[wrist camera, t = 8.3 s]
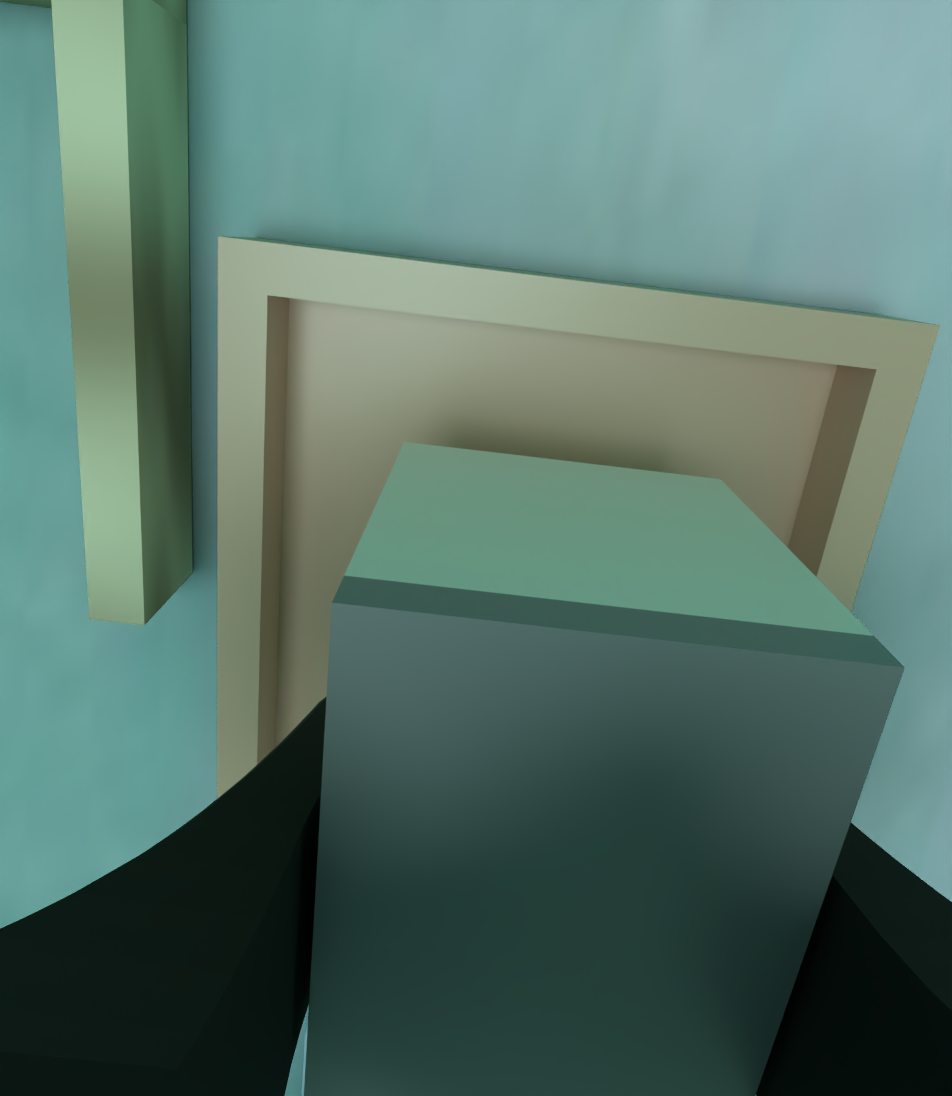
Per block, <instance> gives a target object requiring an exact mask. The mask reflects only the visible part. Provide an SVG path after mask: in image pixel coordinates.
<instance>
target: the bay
mask: <svg viewBox="0 0 952 1096" xmlns="http://www.w3.org/2000/svg"><path fill="white" fill-rule="evenodd" d="M0 1H2V2H10V3H18V4H26V5H33V6H41V7H49V8H52V19H53V35H54V52H55V68H56V84H57V101H58V117H59V133H60V149H61V166H62V182H63V198H64V214H65V231H66V247H67V263H68V279H69V296H70V312H71V328H72V344H73V361H74V377H75V393H76V409H77V426H78V442H79V458H80V474H81V491H82V507H83V523H84V539H85V556H86V572H87V588H88V604H89V619H91V620H100V621H109V622H118V623H127V624H136V625H145V624H146V623H147V622H148V621H149V620H150V619H151V618H152V617H153V616H154V615H155V613H156V612H157V611H158V610H159V609H160V608H161V607H162V606H163V605H164V604H165V603H166V601H167V600H168V599H169V598H170V597H171V596H172V595H173V594H174V593H175V592H176V591H177V590H178V588H179V587H180V586H181V585H182V584H183V583H184V582H185V581H186V580H187V579H188V578H189V576H190V575H191V574H192V573H193V565H192V471H191V377H190V283H189V188H188V94H187V0H0Z"/></svg>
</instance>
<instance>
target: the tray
mask: <svg viewBox="0 0 952 1096" xmlns="http://www.w3.org/2000/svg"><path fill="white" fill-rule="evenodd" d="M939 327H940V325H935V324H930V323H924V322H918V321H913V320H907V319H901V318H896V317H890V316H884V315H877V314H869V313H861V312H853V311H845V310H837V309H829V308H821V307H813V306H805V305H796V304H788V303H780V302H772V301H764V300H756V299H748V298H740V297H732V296H724V295H715V294H707V293H699V292H691V291H683V290H675V289H667V288H659V287H651V286H642V285H634V284H626V283H618V282H610V281H602V280H594V279H586V278H578V277H570V276H561V275H553V274H545V273H537V272H529V271H521V270H513V269H505V268H497V267H489V266H480V265H472V264H464V263H456V262H448V261H440V260H432V259H424V258H416V257H407V256H399V255H391V254H383V253H375V252H367V251H359V250H351V249H343V248H335V247H326V246H318V245H310V244H302V243H294V242H286V241H278V240H270V239H262V238H250V237H224V236H218V535H217V799H218V798H219V797H220V796H221V795H222V794H224V793H225V792H226V791H227V790H229V789H230V788H231V787H232V786H233V785H235V784H236V783H237V782H238V781H239V780H241V779H242V778H243V777H244V776H245V775H246V774H247V773H249V772H250V771H251V770H252V769H253V768H254V767H255V766H256V765H257V764H258V763H259V762H260V761H261V760H263V759H264V758H265V757H266V756H267V755H268V754H269V753H270V752H271V751H272V750H273V749H274V748H275V747H276V746H278V745H279V744H280V743H281V742H282V741H283V740H284V739H285V738H286V737H287V736H288V735H289V734H290V732H291V731H292V730H293V729H294V728H295V727H296V726H297V725H298V724H299V723H300V722H301V721H302V720H303V719H304V718H305V717H306V716H307V715H308V714H309V713H310V711H311V710H312V709H313V708H314V707H315V706H316V705H317V704H318V703H319V702H320V701H321V700H322V699H324V698H325V697H327V679H328V662H329V644H330V627H331V609H332V601H333V599H334V597H335V595H336V592H337V590H338V588H339V586H340V583H341V581H342V579H343V577H344V575H345V572H346V570H347V568H348V566H349V563H350V561H351V559H352V557H353V554H354V552H355V550H356V548H357V546H358V543H359V541H360V539H361V537H362V534H363V532H364V530H365V528H366V526H367V523H368V521H369V519H370V517H371V514H372V512H373V510H374V508H375V506H376V503H377V501H378V499H379V497H380V494H381V492H382V490H383V488H384V486H385V483H386V481H387V479H388V477H389V474H390V472H391V470H392V468H393V465H394V463H395V461H396V459H397V457H398V454H399V452H400V450H401V448H402V445H403V443H404V442H411V443H420V444H428V445H436V446H445V447H453V448H462V449H470V450H479V451H487V452H496V453H504V454H513V455H521V456H530V457H538V458H547V459H555V460H563V461H572V462H580V463H589V464H597V465H606V466H614V467H623V468H631V469H640V470H648V471H657V472H665V473H674V474H682V475H690V476H699V477H707V478H716V479H721V480H722V481H723V482H724V483H725V484H726V485H727V486H728V487H729V488H730V489H731V490H732V491H733V492H734V493H735V494H736V495H737V496H738V497H739V498H740V499H741V500H742V501H743V503H744V504H745V505H746V506H747V507H748V508H749V509H750V510H751V511H752V512H753V513H754V514H755V515H756V516H757V517H758V518H759V519H760V520H761V521H762V522H763V523H764V524H765V525H766V526H767V527H768V528H769V529H770V530H771V531H772V532H773V533H774V534H775V535H776V536H777V537H778V538H779V539H780V540H781V541H782V542H783V543H784V545H785V546H786V547H787V548H788V549H789V550H790V551H791V552H792V553H793V554H794V555H795V556H796V557H797V558H798V559H799V560H800V561H801V562H802V563H803V564H804V565H805V566H806V567H807V568H808V569H809V570H810V571H811V572H812V573H813V574H814V575H815V576H816V577H817V578H818V579H819V580H820V581H821V582H822V583H823V584H824V586H825V587H826V588H827V589H828V590H829V591H830V592H831V593H832V594H833V595H834V596H835V597H836V598H837V599H838V600H839V601H840V602H841V603H842V604H843V605H844V606H845V607H846V608H847V609H848V610H849V611H850V612H851V610H852V607H853V603H854V600H855V597H856V594H857V590H858V587H859V584H860V581H861V578H862V574H863V571H864V568H865V565H866V562H867V558H868V555H869V552H870V549H871V545H872V542H873V539H874V536H875V533H876V529H877V526H878V523H879V520H880V517H881V513H882V510H883V507H884V504H885V501H886V497H887V494H888V491H889V488H890V484H891V481H892V478H893V475H894V472H895V468H896V465H897V462H898V459H899V456H900V452H901V449H902V446H903V443H904V439H905V436H906V433H907V430H908V427H909V423H910V420H911V417H912V414H913V411H914V407H915V404H916V401H917V398H918V394H919V391H920V388H921V385H922V382H923V378H924V375H925V372H926V369H927V366H928V362H929V359H930V356H931V353H932V350H933V346H934V343H935V340H936V337H937V333H938V330H939Z"/></svg>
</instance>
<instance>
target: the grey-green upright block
mask: <svg viewBox="0 0 952 1096" xmlns="http://www.w3.org/2000/svg"><path fill="white" fill-rule="evenodd" d="M903 670H904V666H903V665H902V664H901V663H900V662H899V661H898V660H897V659H896V658H895V657H894V656H893V655H892V654H891V653H890V652H889V651H888V650H887V649H886V648H885V647H884V646H883V645H882V644H881V643H880V642H879V641H878V640H877V639H876V638H875V637H874V636H873V635H872V634H871V633H870V632H869V631H868V630H867V629H866V628H865V627H864V625H863V624H862V623H861V622H860V621H859V620H858V619H857V618H856V617H855V616H854V615H853V614H852V613H851V612H850V611H849V610H848V609H847V608H846V607H845V606H844V605H843V604H842V603H841V602H840V601H839V600H838V599H837V598H836V597H835V596H834V595H833V594H832V593H831V592H830V591H829V590H828V589H827V588H826V587H825V586H824V584H823V583H822V582H821V581H820V580H819V579H818V578H817V577H816V576H815V575H814V574H813V573H812V572H811V571H810V570H809V569H808V568H807V567H806V566H805V565H804V564H803V563H802V562H801V561H800V560H799V559H798V558H797V557H796V556H795V555H794V554H793V553H792V552H791V551H790V550H789V549H788V548H787V547H786V546H785V545H784V543H783V542H782V541H781V540H780V539H779V538H778V537H777V536H776V535H775V534H774V533H773V532H772V531H771V530H770V529H769V528H768V527H767V526H766V525H765V524H764V523H763V522H762V521H761V520H760V519H759V518H758V517H757V516H756V515H755V514H754V513H753V512H752V511H751V510H750V509H749V508H748V507H747V506H746V505H745V504H744V503H743V501H742V500H741V499H740V498H739V497H738V496H737V495H736V494H735V493H734V492H733V491H732V490H731V489H730V488H729V487H728V486H727V485H726V484H725V483H724V482H723V481H722V480H721V479H716V478H707V477H699V476H690V475H682V474H674V473H665V472H657V471H648V470H640V469H631V468H623V467H614V466H606V465H597V464H589V463H580V462H572V461H563V460H555V459H547V458H538V457H530V456H521V455H513V454H504V453H496V452H487V451H479V450H470V449H462V448H453V447H445V446H436V445H428V444H420V443H411V442H404V443H403V445H402V448H401V450H400V452H399V454H398V457H397V459H396V461H395V463H394V465H393V468H392V470H391V472H390V474H389V477H388V479H387V481H386V483H385V486H384V488H383V490H382V492H381V494H380V497H379V499H378V501H377V503H376V506H375V508H374V510H373V512H372V514H371V517H370V519H369V521H368V523H367V526H366V528H365V530H364V532H363V534H362V537H361V539H360V541H359V543H358V546H357V548H356V550H355V552H354V554H353V557H352V559H351V561H350V563H349V566H348V568H347V570H346V572H345V575H344V577H343V579H342V581H341V583H340V586H339V588H338V590H337V592H336V595H335V597H334V599H333V601H332V609H331V627H330V644H329V662H328V679H327V697H326V715H325V732H324V750H323V767H322V785H321V803H320V820H319V838H318V855H317V873H316V891H315V908H314V926H313V943H312V961H311V979H310V996H309V1014H308V1031H307V1049H306V1067H305V1084H304V1096H755V1095H756V1092H757V1089H758V1087H759V1084H760V1081H761V1078H762V1075H763V1072H764V1069H765V1067H766V1064H767V1061H768V1058H769V1055H770V1052H771V1049H772V1046H773V1044H774V1041H775V1038H776V1035H777V1032H778V1029H779V1026H780V1023H781V1021H782V1018H783V1015H784V1012H785V1009H786V1006H787V1003H788V1000H789V998H790V995H791V992H792V989H793V986H794V983H795V980H796V977H797V975H798V972H799V969H800V966H801V963H802V960H803V957H804V955H805V952H806V949H807V946H808V943H809V940H810V937H811V934H812V932H813V929H814V926H815V923H816V920H817V917H818V914H819V911H820V909H821V906H822V903H823V900H824V897H825V894H826V891H827V888H828V886H829V883H830V880H831V877H832V874H833V871H834V868H835V865H836V863H837V860H838V857H839V854H840V851H841V848H842V845H843V843H844V840H845V837H846V834H847V831H848V828H849V825H850V822H851V820H852V817H853V814H854V811H855V808H856V805H857V802H858V799H859V797H860V794H861V791H862V788H863V785H864V782H865V779H866V776H867V774H868V771H869V768H870V765H871V762H872V759H873V756H874V753H875V751H876V748H877V745H878V742H879V739H880V736H881V733H882V731H883V728H884V725H885V722H886V719H887V716H888V713H889V710H890V708H891V705H892V702H893V699H894V696H895V693H896V690H897V687H898V685H899V682H900V679H901V676H902V673H903Z"/></svg>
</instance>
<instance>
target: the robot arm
mask: <svg viewBox="0 0 952 1096" xmlns="http://www.w3.org/2000/svg"><path fill="white" fill-rule="evenodd" d="M325 715H326V697H325V698H324V699H322V700H321V701H320V702H319V703H318V704H317V705H316V706H315V707H314V708H313V709H312V710H311V711H310V713H309V714H308V715H307V716H306V717H305V718H304V719H303V720H302V721H301V722H300V723H299V724H298V725H297V726H296V727H295V728H294V729H293V730H292V731H291V732H290V734H289V735H288V736H287V737H286V738H285V739H284V740H283V741H282V742H281V743H280V744H279V745H278V746H276V747H275V748H274V749H273V750H272V751H271V752H270V753H269V754H268V755H267V756H266V757H265V758H264V759H263V760H261V761H260V762H259V763H258V764H257V765H256V766H255V767H254V768H253V769H252V770H251V771H250V772H249V773H247V774H246V775H245V776H244V777H243V778H242V779H241V780H239V781H238V782H237V783H236V784H235V785H233V786H232V787H231V788H230V789H229V790H227V791H226V792H225V793H224V794H222V795H221V796H220V797H219V798H218V799H216V800H215V801H214V802H213V803H212V804H210V805H209V806H208V807H207V808H206V809H204V810H203V811H202V812H200V813H199V814H198V815H196V816H195V817H194V818H192V819H191V820H190V821H188V822H187V823H186V824H184V825H183V826H182V827H180V828H179V829H178V830H176V831H175V832H173V833H172V834H170V835H169V836H168V837H166V838H165V839H163V840H162V841H160V842H159V843H157V844H156V845H154V846H153V847H151V848H150V849H148V850H147V851H145V852H144V853H142V854H141V855H139V856H138V857H136V858H134V859H132V860H131V861H129V862H127V863H125V864H124V865H122V866H120V867H118V868H117V869H115V870H113V871H111V872H110V873H108V874H106V875H104V876H103V877H101V878H99V879H97V880H96V881H94V882H92V883H91V884H89V885H87V886H85V887H84V888H82V889H80V890H78V891H77V892H75V893H73V894H71V895H69V896H67V897H65V898H63V899H61V900H59V901H57V902H55V903H53V904H51V905H49V906H47V907H45V908H43V909H41V910H39V911H37V912H35V913H33V914H31V915H29V916H27V917H25V918H23V919H20V920H18V921H16V922H14V923H12V924H10V925H7V926H5V927H3V928H1V929H0V1096H284V1095H285V1090H286V1086H287V1081H288V1077H289V1072H290V1068H291V1063H292V1060H293V1056H294V1052H295V1049H296V1045H297V1041H298V1038H299V1034H300V1030H301V1027H302V1024H303V1020H304V1017H305V1014H306V1011H307V1008H308V1005H309V996H310V979H311V961H312V943H313V926H314V908H315V891H316V873H317V855H318V838H319V820H320V803H321V785H322V767H323V750H324V732H325ZM307 1031H308V1023H307V1027H306V1031H305V1041H304V1059H303V1077H302V1095H301V1096H304V1084H305V1067H306V1049H307ZM756 1096H952V902H951V901H949V900H948V899H947V898H945V897H944V896H942V895H941V894H940V893H938V892H937V891H936V890H934V889H933V888H932V887H930V886H929V885H928V884H927V883H925V882H924V881H923V880H921V879H920V878H919V877H918V876H916V875H915V874H914V873H912V872H911V871H910V870H909V869H907V868H906V867H905V866H903V865H902V864H901V863H899V862H898V861H897V860H896V859H894V858H893V857H892V856H891V855H889V854H888V853H887V852H886V851H884V850H883V849H882V848H881V847H880V846H878V845H877V844H876V843H875V842H873V841H872V840H871V839H870V838H869V837H867V836H866V835H865V834H864V833H863V832H861V831H860V830H859V829H858V828H857V827H856V826H854V825H853V824H852V823H851V822H850V825H849V828H848V831H847V834H846V837H845V840H844V843H843V845H842V848H841V851H840V854H839V857H838V860H837V863H836V865H835V868H834V871H833V874H832V877H831V880H830V883H829V886H828V888H827V891H826V894H825V897H824V900H823V903H822V906H821V909H820V911H819V914H818V917H817V920H816V923H815V926H814V929H813V932H812V934H811V937H810V940H809V943H808V946H807V949H806V952H805V955H804V957H803V960H802V963H801V966H800V969H799V972H798V975H797V977H796V980H795V983H794V986H793V989H792V992H791V995H790V998H789V1000H788V1003H787V1006H786V1009H785V1012H784V1015H783V1018H782V1021H781V1023H780V1026H779V1029H778V1032H777V1035H776V1038H775V1041H774V1044H773V1046H772V1049H771V1052H770V1055H769V1058H768V1061H767V1064H766V1067H765V1069H764V1072H763V1075H762V1078H761V1081H760V1084H759V1087H758V1089H757V1092H756Z"/></svg>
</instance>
